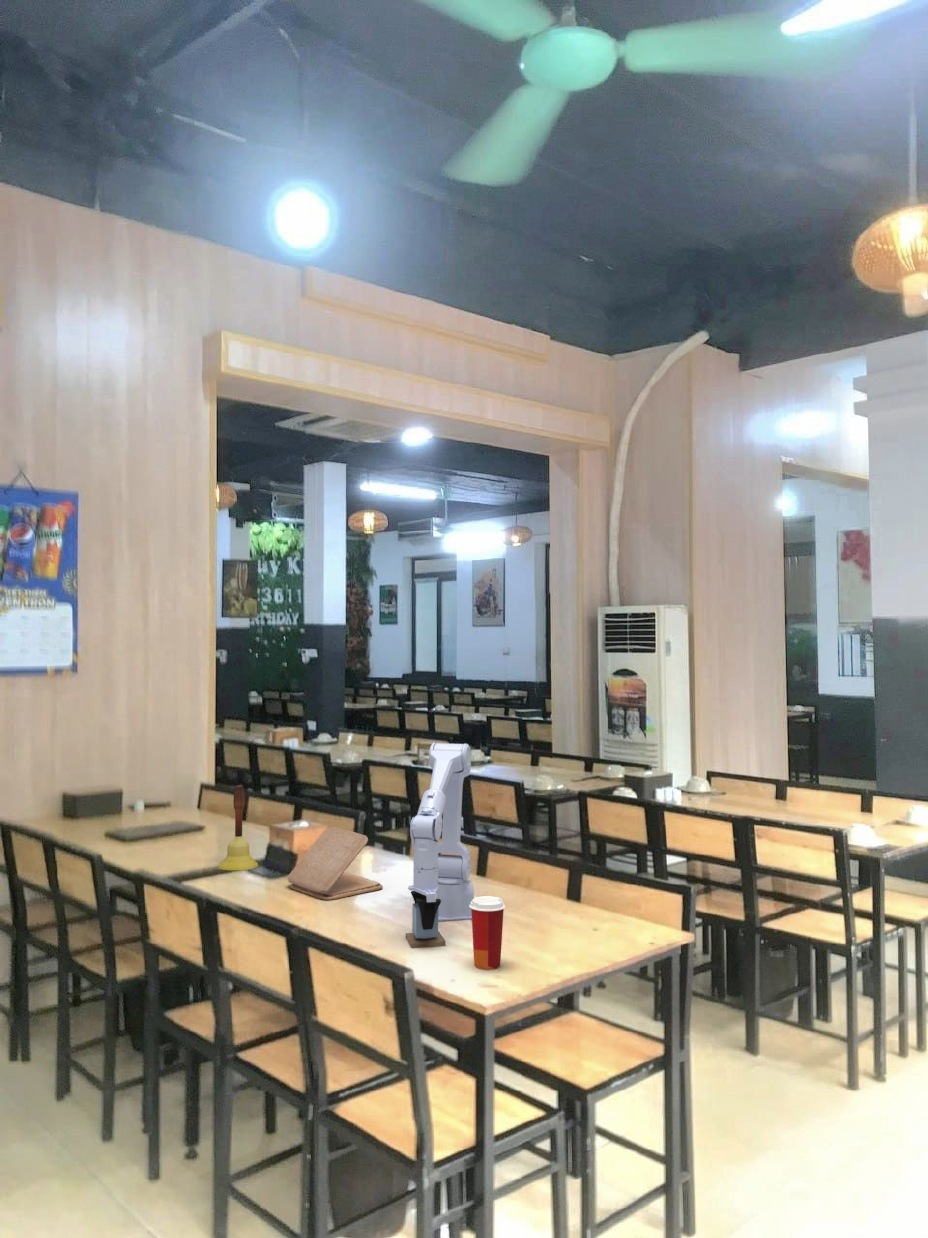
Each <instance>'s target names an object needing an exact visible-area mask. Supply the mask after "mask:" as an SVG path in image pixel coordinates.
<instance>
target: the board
mask: <svg viewBox="0 0 928 1238" xmlns="http://www.w3.org/2000/svg"><path fill="white" fill-rule="evenodd" d="M405 939H406V941H407V943H408V945H409V947H410V949H416V948H417V949H418V948H429V947H430V948H431V947H444V946H447V945H446V943H447V942H446V941H447V940H445V938H444V937H443V936H442V934H441V932H440V931H439V930H438V937H432V939H420V938H416V937H415V936H414V934H413V932H406V933H405Z"/></svg>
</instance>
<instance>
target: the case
mask: <svg viewBox="0 0 928 1238" xmlns="http://www.w3.org/2000/svg"><path fill="white" fill-rule="evenodd" d="M368 841H369V838H368V836H367V835H366V834H362V833H359V832H356V831H352V830H348V829H343V828H339V827H335V826H330V827H328V828H326V829H325V830H324V831H323V832H322V833H321V835H319V837H318V838H317V839H316V841H315V842H314V843H313V844H312V845H311V847H310V848H309V849H308V851H307V852H305V854H304V856H302V858H301V859H300V860H299V862H298V863H297V864H296V865H295V866H294V868H292V871H290V873H289V874H288V876H287V880H288V883H291V884H290V885H289V888H290V889H292V890H293V891H297V892H300V893H303V894H305V895H308V896H310V897H311V896H312V897H314V898H315V899H316V898H317V899H319V900H323V901H334V900H337V899H342V898H343V899H344V898H348V897H351V896H356V895H361V894H365V893H371V892H375V891H380V890H382V889H383V888H384V886H383V884H381V883H380V882H379V881H376V880H371V879H369V878H366V877H364V876H359V875H356V874H352V873H349V872H345V871H346V870H347V869H348V868H349V866H351V864H352V863H353V861H354V860H355V859H356V857H358V855H359V854H360V853H361V851H362V850H363V849H364V848H365V847H366V845H367V844H368Z"/></svg>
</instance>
